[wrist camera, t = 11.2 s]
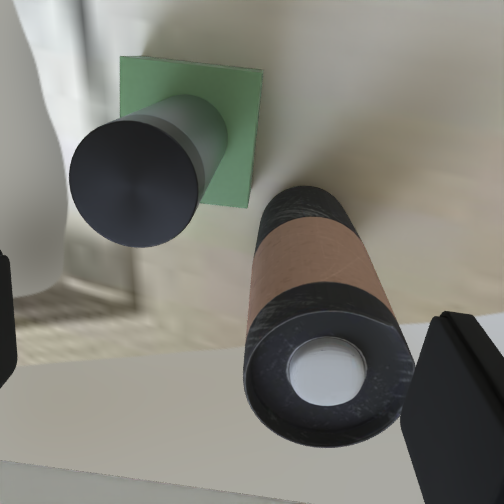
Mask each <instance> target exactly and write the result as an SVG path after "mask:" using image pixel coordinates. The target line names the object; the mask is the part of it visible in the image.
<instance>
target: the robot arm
mask: <svg viewBox="0 0 504 504" xmlns="http://www.w3.org/2000/svg"><path fill="white" fill-rule="evenodd" d="M16 364H17V345H16V332H15V320H14V308H13V295H12V284H11V272H10V262H9V259H8V257H7V256H6V255H3V254H2V252H1V250H0V388H1V387H2V386H3V384H4V383H5V382H6V381H7V379H8V378H9V377H10V376H11V375H12V373H13V371H14V369H15V367H16ZM400 425H401V430H402V433H403V436H404V439H405V442H406V445H407V448H408V452H409V455H410V458H411V461H412V464H413V467H414V470H415V473H416V477H417V480H418V483H419V486H420V489H421V492H422V495H423V499H424V502H425V504H504V357H503V356H502V354H501V353H500V352H499V350H498V349H497V347H496V346H495V345H494V343H493V342H492V341H491V339H490V338H489V336H488V335H487V334H486V332H485V331H484V329H483V328H482V327H481V326H480V324H479V323H478V322H477V320H476V318H475V317H474V316H473V315H470V314H463V313H456V312H449V311H444V312H442V314H441V315H440V317H438V316H435V317H433V318H432V320H431V322H430V325H429V328H428V331H427V334H426V337H425V341H424V343H423V347H422V349H421V352H420V356H419V359H418V362H417V365H416V368H415V371H414V374H413V377H412V380H411V383H410V386H409V389H408V392H407V395H406V398H405V401H404V404H403V407H402V410H401V416H400ZM0 504H310V503H302V502H296V501H289V500H282V499H276V498H268V497H261V496H255V495H248V494H241V493H234V492H227V491H219V490H213V489H205V488H198V487H191V486H184V485H177V484H170V483H163V482H155V481H149V480H141V479H133V478H127V477H120V476H113V475H106V474H98V473H91V472H84V471H77V470H69V469H62V468H55V467H47V466H40V465H33V464H25V463H18V462H10V461H3V460H0Z"/></svg>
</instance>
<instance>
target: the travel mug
mask: <svg viewBox="0 0 504 504" xmlns="http://www.w3.org/2000/svg"><path fill="white" fill-rule="evenodd" d="M414 371H415V363H414V360H413V358H412V355H411V353H410V350H409V348H408V345H407V343H406V340H405V338H404V336H403V334H402V331H401V329H400V327H399V324H398V322H397V320H396V317H395V315H394V313H393V310H392V308H391V306H390V303H389V301H388V299H387V297H386V294H385V292H384V290H383V287H382V285H381V283H380V280H379V278H378V276H377V273H376V271H375V269H374V267H373V264H372V262H371V260H370V257H369V255H368V253H367V250H366V248H365V246H364V244H363V242H362V241H361V239H360V237H359V235H358V233H357V232H356V230H355V228H354V226H353V224H352V223H351V221H350V219H349V217H348V215H347V214H346V212H345V210H344V209H343V207H342V206H341V204H340V203H339V202H338V200H337V199H336V198H335V197H334V196H332V195H331V194H330V193H328V192H326V191H324V190H322V189H320V188H316V187H311V186H298V187H293V188H290V189H287V190H285V191H283V192H281V193H280V194H278V195H277V196H276V197H274V198H273V199H272V200H271V201H270V203H269V204H268V205H267V207H266V208H265V210H264V212H263V215H262V218H261V222H260V227H259V232H258V237H257V243H256V248H255V253H254V259H253V265H252V274H251V286H250V297H249V309H248V320H247V332H246V344H245V355H244V367H243V383H244V390H245V394H246V397H247V400H248V402H249V405H250V407H251V409H252V410H253V412H254V413H255V415H256V416H257V417H258V419H259V420H260V421H261V422H262V423H263V424H264V425H265V426H266V427H267V428H269V429H270V430H271V431H273V432H274V433H276V434H277V435H279V436H281V437H283V438H284V439H287V440H289V441H292V442H294V443H297V444H301V445H305V446H310V447H319V448H335V447H343V446H349V445H353V444H357V443H360V442H363V441H366V440H368V439H370V438H372V437H374V436H376V435H378V434H379V433H381V432H382V431H384V430H386V429H387V428H388V427H389V426H390V425H392V424H393V423H394V421H396V419H398V418H399V416H400V415H401V410H402V407H403V404H404V401H405V398H406V395H407V392H408V389H409V386H410V383H411V380H412V377H413V374H414Z"/></svg>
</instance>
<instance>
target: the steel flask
mask: <svg viewBox="0 0 504 504" xmlns="http://www.w3.org/2000/svg"><path fill="white" fill-rule="evenodd" d="M227 140H228V139H227V129H226V125H225V122H224V120H223V118H222V116H221V115H220V113H219V112H218V110H217V109H216V108H215V107H214V106H213V105H212V104H210V103H209V102H208V101H206V100H204V99H202V98H200V97H197V96H194V95H188V94H182V95H176V96H172V97H169V98H167V99H165V100H162V101H160V102H157V103H155V104H152V105H150V106H148V107H145V108H143V109H140V110H138V111H135V112H133V113H131V114H128V115H126V116H123V117H121V118H119V119H116V120H114V121H111V122H109V123H106V124H104V125H102V126H100V127H98V128H96V129H95V130H93V131H91V132H90V133H89V134H88V135H87V136H86V137H85V138H84V139H83V140H82V141H81V142H80V144H79V145H78V147H77V149H76V150H75V152H74V155H73V157H72V160H71V164H70V171H69V184H70V191H71V194H72V198H73V201H74V203H75V205H76V207H77V209H78V211H79V213H80V214H81V216H82V217H83V218H84V220H85V221H86V222H87V223H88V224H89V225H90V227H91V228H93V229H94V230H95V231H96V232H97V233H99V234H100V235H102V236H103V237H105V238H107V239H108V240H110V241H112V242H115V243H118V244H120V245H124V246H129V247H139V248H145V247H153V246H157V245H160V244H163V243H166V242H168V241H170V240H171V239H173V238H175V237H176V236H177V235H179V234H180V233H181V232H182V231H183V230H184V229H185V228H186V226H187V225H188V224H189V222H190V221H191V219H192V217H193V215H194V213H195V211H196V209H197V207H198V205H199V203H200V201H201V199H202V197H203V195H204V193H205V191H206V190H207V188H208V186H209V184H210V182H211V180H212V178H213V176H214V174H215V172H216V170H217V168H218V166H219V164H220V162H221V160H222V158H223V156H224V154H225V151H226V147H227Z"/></svg>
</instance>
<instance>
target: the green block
mask: <svg viewBox="0 0 504 504" xmlns="http://www.w3.org/2000/svg"><path fill="white" fill-rule="evenodd" d="M262 81H263V70H259V69H250V68H241V67H232V66H224V65H215V64H206V63H198V62H189V61H180V60H171V59H163V58H154V57H145V56H120V118H121V117H123V116H126V115H128V114H131V113H133V112H135V111H138V110H140V109H143V108H145V107H148V106H150V105H152V104H155V103H157V102H160V101H162V100H165V99H167V98H169V97H172V96H176V95H182V94H188V95H194V96H197V97H200V98H202V99H204V100H206V101H208V102H209V103H210V104H212V105H213V106H214V107H215V108H216V109H217V110H218V112H219V113H220V115H221V116H222V118H223V120H224V122H225V125H226V129H227V139H228V140H227V147H226V151H225V154H224V156H223V158H222V160H221V162H220V164H219V166H218V168H217V170H216V172H215V174H214V176H213V178H212V180H211V182H210V184H209V186H208V188H207V190H206V191H205V193H204V195H203V197H202V199H201V201H200V203H203V204H212V205H221V206H229V207H238V208H248V202H249V197H250V191H251V183H252V174H253V164H254V155H255V146H256V136H257V127H258V118H259V109H260V99H261V90H262Z"/></svg>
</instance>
